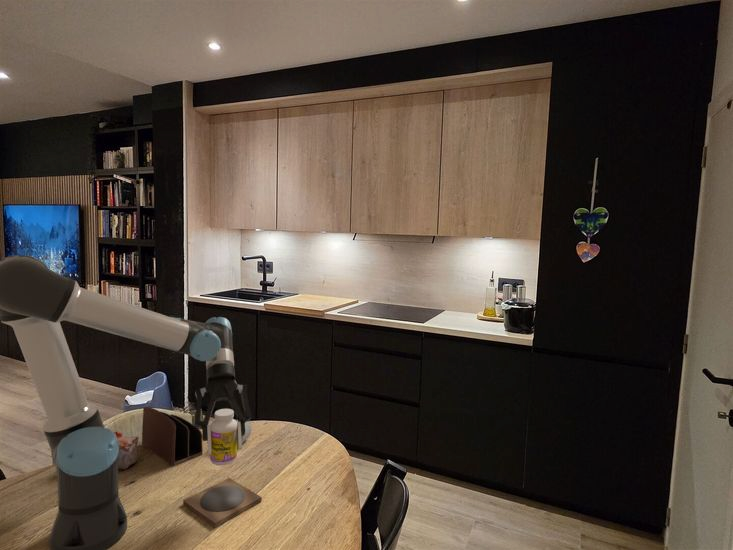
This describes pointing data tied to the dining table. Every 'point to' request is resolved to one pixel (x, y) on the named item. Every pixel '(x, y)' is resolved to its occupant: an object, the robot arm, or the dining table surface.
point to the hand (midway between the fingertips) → (225, 450)
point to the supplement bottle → (223, 438)
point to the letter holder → (170, 436)
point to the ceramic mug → (246, 431)
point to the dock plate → (222, 502)
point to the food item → (126, 450)
